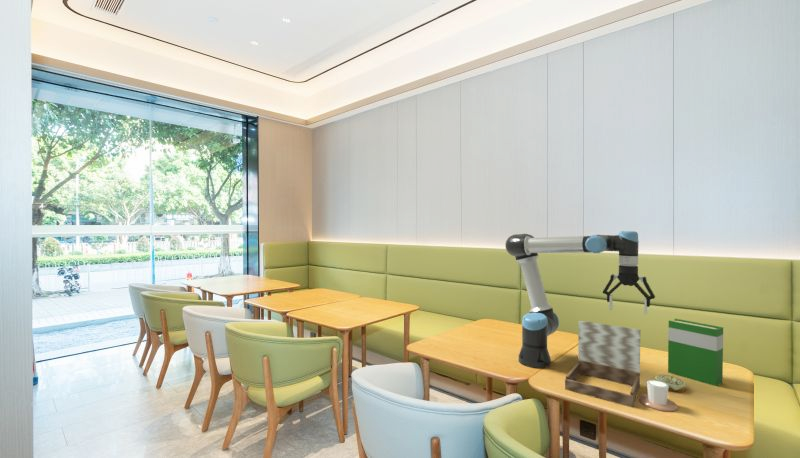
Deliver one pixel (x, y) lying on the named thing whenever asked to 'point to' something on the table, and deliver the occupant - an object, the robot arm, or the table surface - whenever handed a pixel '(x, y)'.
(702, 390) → the table surface
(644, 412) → the table surface
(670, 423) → the table surface
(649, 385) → the shot glass
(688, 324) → the hardback book
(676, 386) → the decorated donut
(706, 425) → the table surface
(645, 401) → the terracotta saucer
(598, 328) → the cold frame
